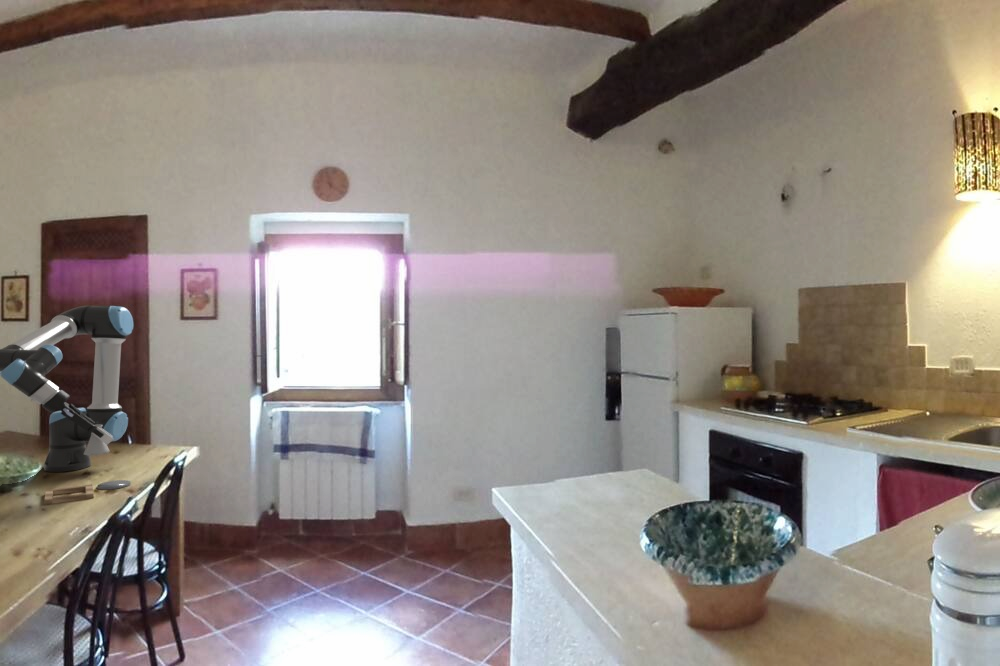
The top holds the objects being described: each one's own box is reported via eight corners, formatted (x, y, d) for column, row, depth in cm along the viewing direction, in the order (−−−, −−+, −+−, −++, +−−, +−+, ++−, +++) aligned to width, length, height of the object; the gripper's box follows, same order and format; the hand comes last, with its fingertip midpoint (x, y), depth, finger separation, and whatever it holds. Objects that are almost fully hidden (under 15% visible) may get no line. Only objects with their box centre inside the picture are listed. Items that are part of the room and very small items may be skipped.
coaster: (106, 482, 216) (106, 480, 216) (135, 481, 217) (135, 480, 217) (91, 490, 206) (91, 488, 206) (121, 489, 207) (121, 487, 207)
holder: (45, 494, 200) (45, 490, 200) (92, 488, 208) (92, 484, 208) (44, 504, 190) (44, 500, 190) (93, 498, 197) (93, 493, 197)
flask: (96, 457, 202) (96, 428, 201) (78, 455, 203) (78, 426, 203) (114, 452, 209) (114, 424, 208) (97, 450, 210) (97, 422, 210)
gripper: (42, 402, 203) (100, 444, 213) (39, 409, 190) (101, 454, 200) (61, 385, 206) (118, 428, 216) (59, 391, 192) (120, 436, 203)
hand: (110, 440), depth 208 cm, fingers closed on flask, 3 cm apart
